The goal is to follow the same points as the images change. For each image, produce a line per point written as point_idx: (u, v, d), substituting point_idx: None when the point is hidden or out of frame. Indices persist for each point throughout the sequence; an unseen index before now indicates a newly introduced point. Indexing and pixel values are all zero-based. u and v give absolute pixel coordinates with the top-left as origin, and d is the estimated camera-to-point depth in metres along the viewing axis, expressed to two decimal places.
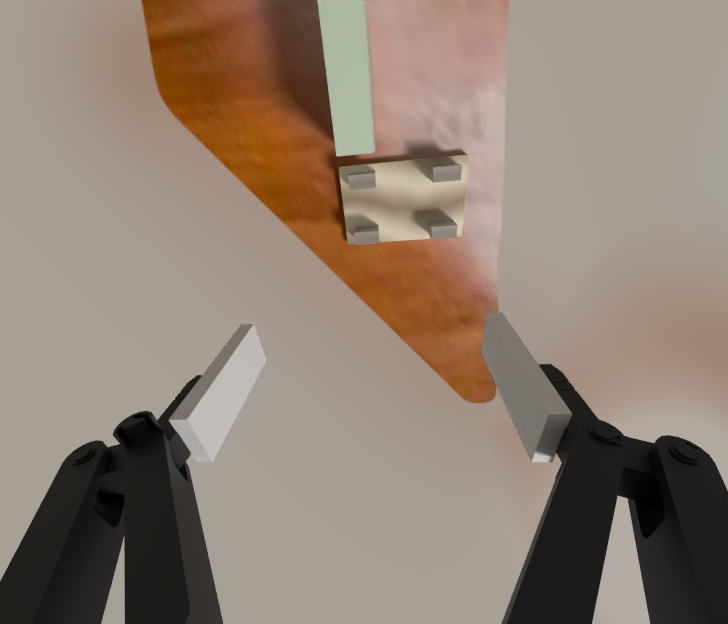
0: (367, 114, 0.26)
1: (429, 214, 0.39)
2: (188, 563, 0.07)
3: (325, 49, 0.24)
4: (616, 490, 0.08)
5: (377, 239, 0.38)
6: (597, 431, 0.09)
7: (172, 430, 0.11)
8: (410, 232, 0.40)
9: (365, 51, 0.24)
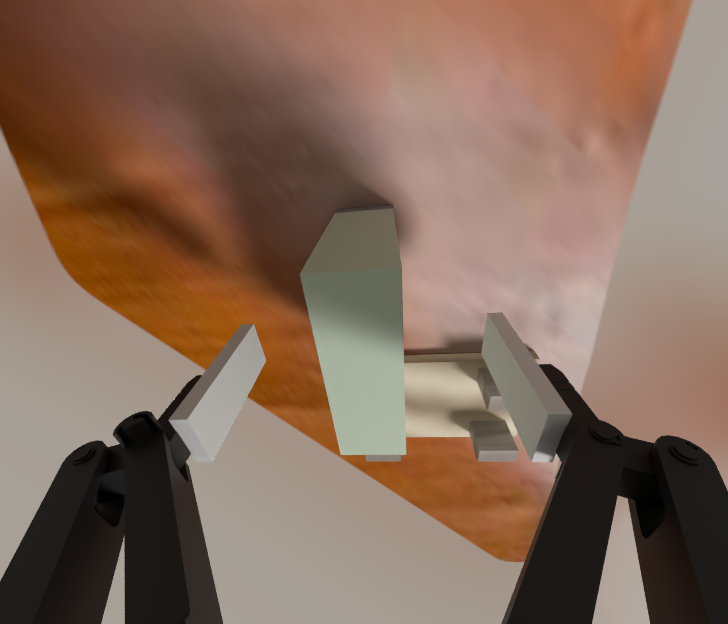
0: (398, 418, 0.14)
1: (472, 415, 0.27)
2: (188, 563, 0.07)
3: (319, 344, 0.12)
4: (616, 490, 0.08)
5: (398, 458, 0.26)
6: (597, 431, 0.09)
7: (172, 430, 0.11)
8: (444, 430, 0.28)
9: (400, 350, 0.12)
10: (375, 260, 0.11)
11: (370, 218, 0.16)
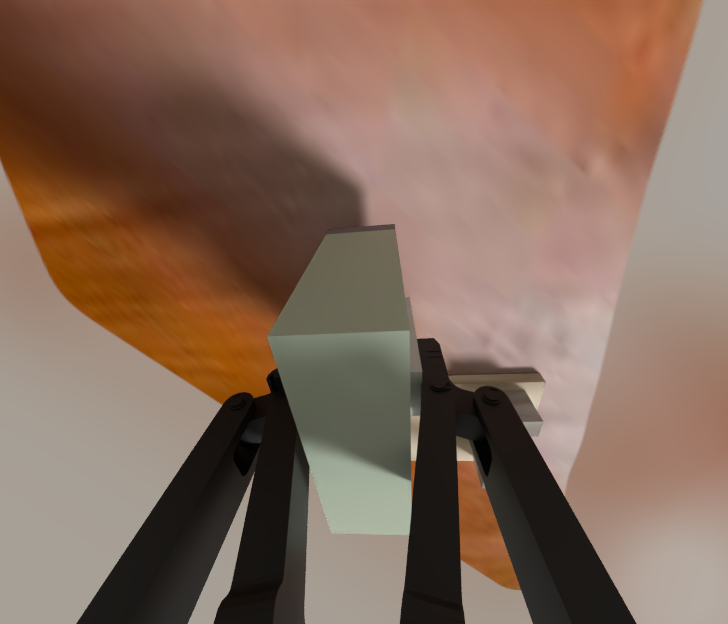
0: (403, 499, 0.11)
1: None
2: (291, 527, 0.08)
3: (299, 418, 0.09)
4: (454, 424, 0.10)
5: None
6: (434, 385, 0.11)
7: None
8: None
9: (406, 427, 0.09)
10: (373, 316, 0.08)
11: (367, 243, 0.13)
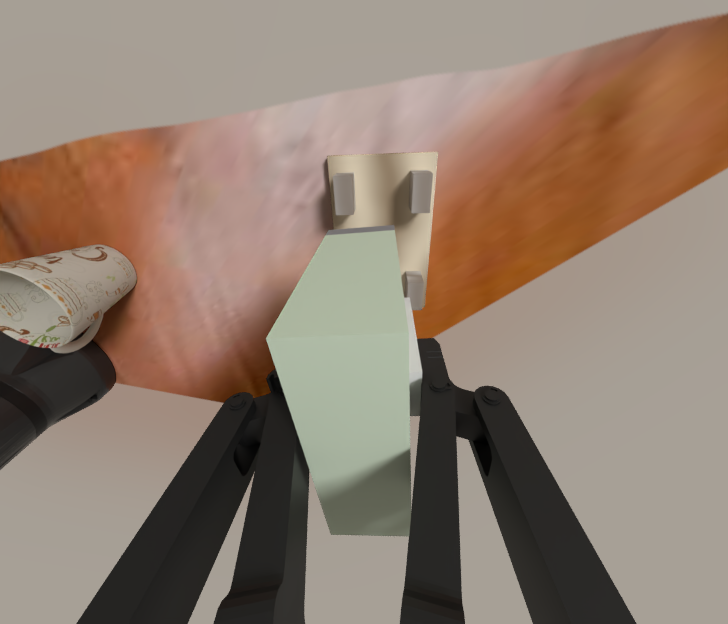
0: (402, 500, 0.11)
1: (399, 205, 0.28)
2: (291, 527, 0.08)
3: (298, 420, 0.09)
4: (454, 424, 0.10)
5: (418, 284, 0.29)
6: (434, 385, 0.11)
7: None
8: (420, 230, 0.29)
9: (405, 429, 0.09)
10: (372, 317, 0.08)
11: (367, 244, 0.13)
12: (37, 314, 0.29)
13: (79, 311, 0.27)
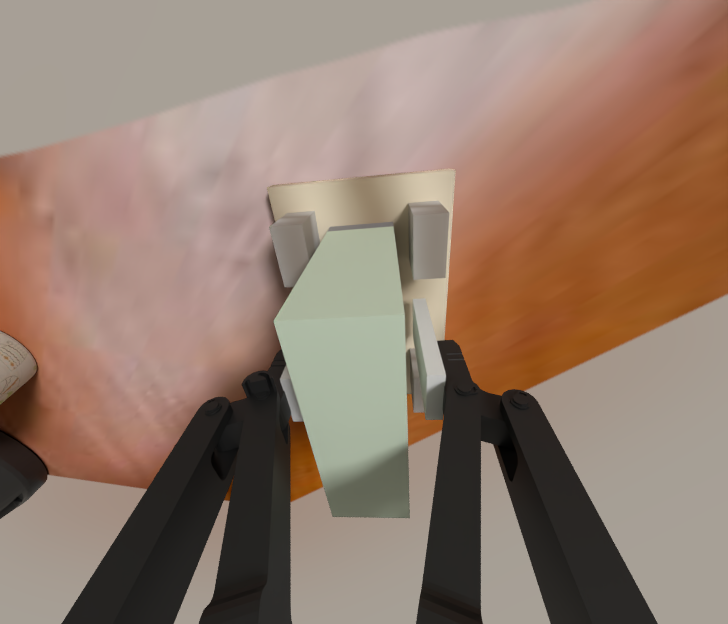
0: (400, 480, 0.12)
1: None
2: (274, 529, 0.08)
3: (302, 401, 0.10)
4: (479, 430, 0.09)
5: None
6: (460, 388, 0.11)
7: (279, 390, 0.13)
8: (430, 293, 0.18)
9: (403, 408, 0.09)
10: (371, 302, 0.08)
11: (367, 239, 0.14)
12: None
13: None
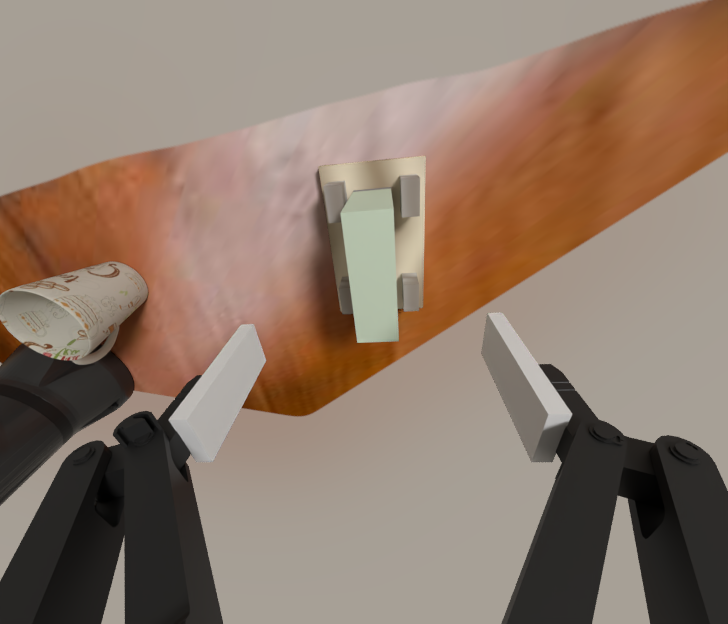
0: (393, 310, 0.23)
1: None
2: (188, 563, 0.07)
3: (348, 257, 0.21)
4: (616, 490, 0.08)
5: (414, 286, 0.30)
6: (597, 431, 0.09)
7: (172, 430, 0.11)
8: (413, 233, 0.30)
9: (393, 260, 0.21)
10: (380, 207, 0.20)
11: (376, 193, 0.25)
12: (59, 329, 0.31)
13: (95, 325, 0.29)
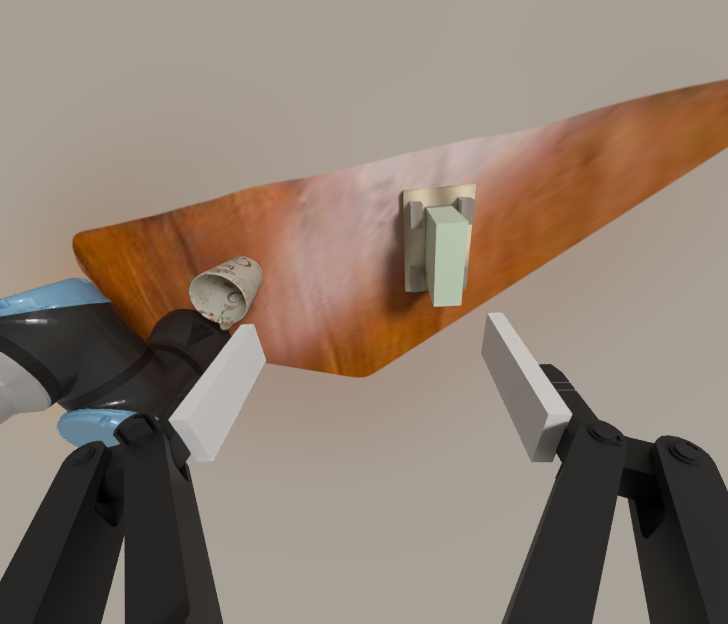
0: (460, 284, 0.37)
1: None
2: (188, 563, 0.07)
3: (437, 250, 0.35)
4: (616, 490, 0.08)
5: (464, 271, 0.43)
6: (597, 431, 0.09)
7: (172, 430, 0.11)
8: None
9: (464, 252, 0.35)
10: (458, 220, 0.33)
11: (445, 209, 0.39)
12: (214, 303, 0.45)
13: (249, 298, 0.42)
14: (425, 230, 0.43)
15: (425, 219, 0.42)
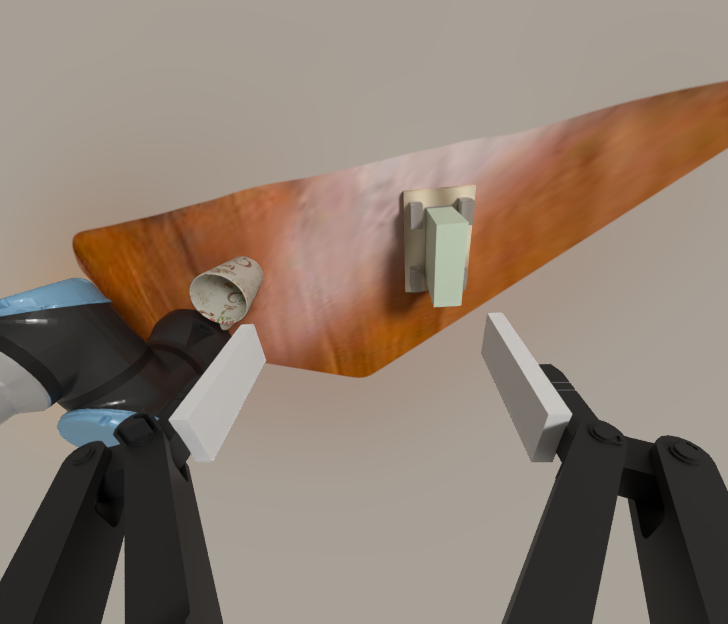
0: (460, 285, 0.37)
1: None
2: (188, 563, 0.07)
3: (437, 251, 0.35)
4: (616, 490, 0.08)
5: (464, 272, 0.43)
6: (597, 431, 0.09)
7: (172, 430, 0.11)
8: None
9: (464, 252, 0.35)
10: (459, 221, 0.34)
11: (445, 210, 0.39)
12: (214, 303, 0.45)
13: (249, 299, 0.42)
14: (425, 230, 0.43)
15: (425, 220, 0.42)
